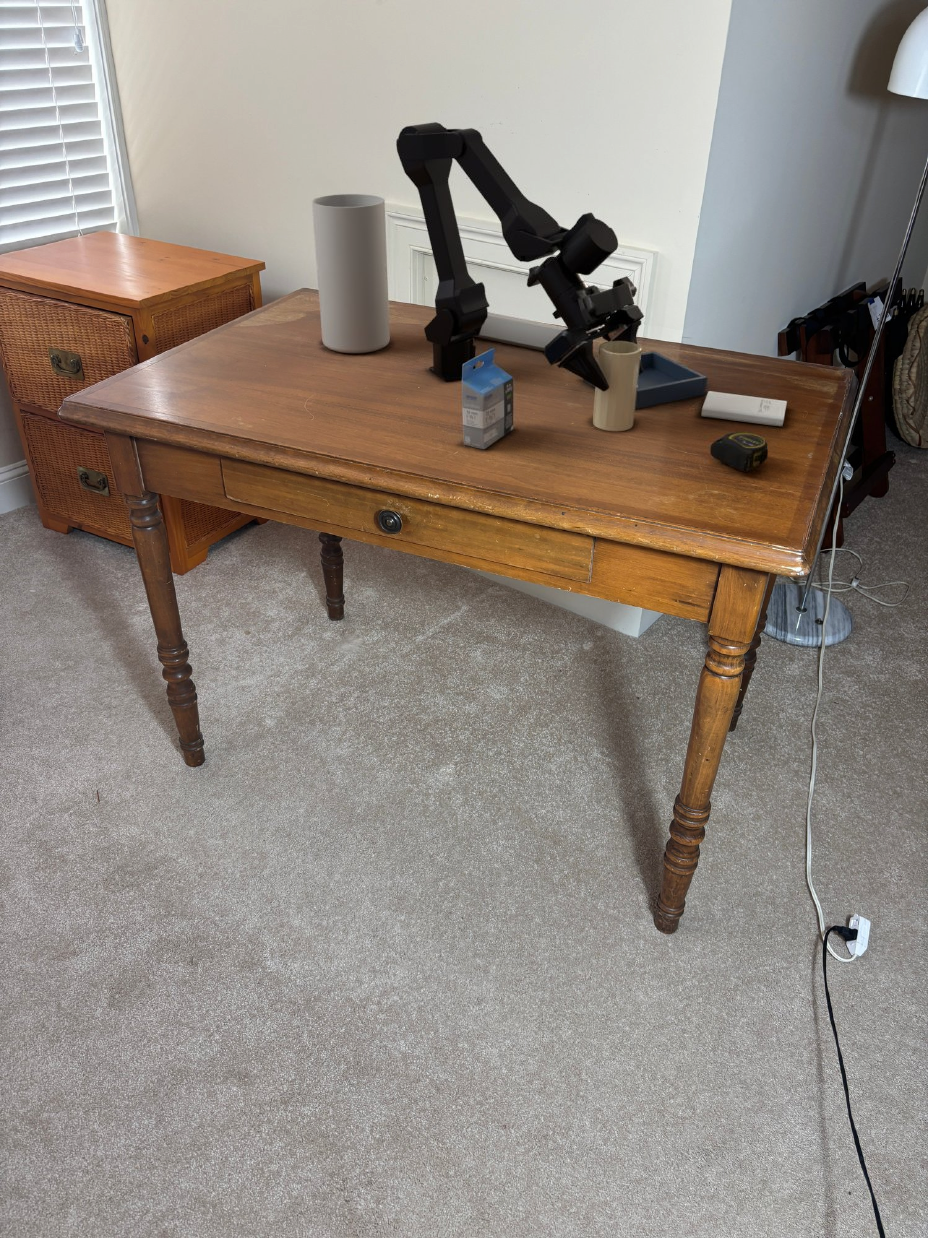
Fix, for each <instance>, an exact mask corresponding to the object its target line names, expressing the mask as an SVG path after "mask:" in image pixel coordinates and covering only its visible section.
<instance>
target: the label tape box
mask: <svg viewBox="0 0 928 1238" xmlns="http://www.w3.org/2000/svg"><path fill="white" fill-rule="evenodd" d="M495 351H496V347H493V348H490V349H489V350H487V351H485V352H483V353H481V354H479V355H477V356H476V357H475V358H473V359H472V360H470V361H468V362H466V363H464V364H463V369H462V378H461V400H462V401H461V402H462V403H461V405H462V406H461V407H462V434H463V435H462V436H463V438H462V439H463V445H464V446H468V447H472V448H477V449H481V450H485V449H487V448H488V447H490V446H491V445H493V444H494V443H495V442H497V441H499V440H500V439H501V438H502V437H504V436H506V435H507V434H508V433H510V432H511V431H513V430H514V381H515V379H514V377H513V376H512V375H510V374H509V373H507V372H506V371H505V370H503V369H502V368H501V367H499V366H498V365H496V364H495V363H494V360H495ZM478 363H482V365H479V366H478V367H476V365H478ZM474 366H475V369H473V367H474Z"/></svg>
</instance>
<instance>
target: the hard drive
mask: <svg viewBox="0 0 928 1238" xmlns="http://www.w3.org/2000/svg"><path fill="white" fill-rule="evenodd" d="M787 403H788V401H787V400H781V399H780V400H779V399H775V398H774V399H773V398H765V397H757V396H749V395H744V394H743V395H742V394H735V393H727V392H718V391H711V390H709V391H708V392H707V393H706V396H705V399H704V402H703V406H702V408H701V414H700V415H701V417H705V418H712V419H719V420H720V419H721V420H727V421H735V422H743V423H750V424H757V425H765V426H773V427H783V424H784V421H785V414H786V409H787Z"/></svg>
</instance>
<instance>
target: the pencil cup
mask: <svg viewBox="0 0 928 1238" xmlns="http://www.w3.org/2000/svg"><path fill="white" fill-rule="evenodd" d="M641 353H642V346H640V345H639V344H638V343H637V344H635V343H631V342H627V341H609V342H608V341H604V342H602V343H600V344H599V346H598V353H597V361H598V365H599V367H600V369H601V371H602V373H603V374H604V376H605V378H606V380H607V383H608V385H609V389H608V390H606V391H605V392H603V391H602V390H600V389H599V388H597V387H594V388H595V389H594V401H593V410H592V411H593V414H592V424H593V426H594V427H596V428H598V429H600V430H603V431H607V432H623V431H627V430H630V429H632V427H633V426H634V420H635V413H636V409H635V405H636V396H637V387H638V377H639V368H640V359H641Z"/></svg>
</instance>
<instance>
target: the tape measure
mask: <svg viewBox="0 0 928 1238" xmlns="http://www.w3.org/2000/svg"><path fill="white" fill-rule="evenodd" d="M768 449H769V448H768V443H767V440H766V439H765V438H764V437H762V436H760V435H758V434H755V433H751V432H746V431H736V432H735V431H734V432H729V433H726V434H724V435H723V436H721V437H720V438H718V439H716V440H714V441H713V442H712V443H711V444H710V449H709V453H710V455H711V457H713V458H714V459H715V460H717V461H720V462H722V463H723V464H726V465H728V466H730V467H731V468H735V469H737V470H739V471H742V472H744V473H747V472H749V471H750V470H752V469H757V468H759V467H761V466H762V465H763V464H764V462H765V461H767V459H768V455H769V451H768Z"/></svg>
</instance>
